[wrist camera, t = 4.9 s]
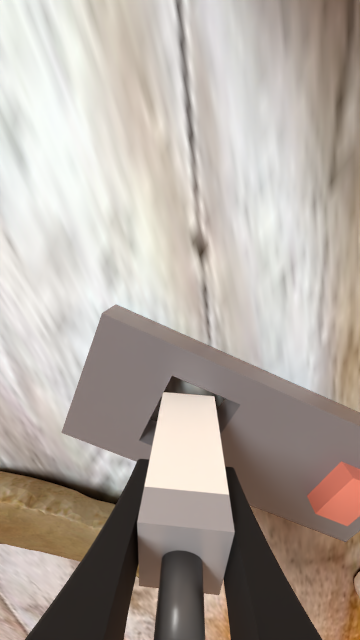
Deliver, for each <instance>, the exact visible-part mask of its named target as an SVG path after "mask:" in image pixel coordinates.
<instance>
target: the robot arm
mask: <svg viewBox="0 0 360 640" xmlns="http://www.w3.org/2000/svg"><path fill="white" fill-rule="evenodd" d="M149 461H150V459H139V460H138V461H137V463H136V466H135V468H134V470H133V472H132V475H131V477H130V479H129V481H128V483H127V485H126V487H125V489H124V491H123V492H122V494H121V496H120V498H119V500H118V502H117V503H116V505H115V507H114V509H113V511H112V512H111V514H110V516H109V518H108V519H107V521H106V523H105V524H104V526H103V527H102V529H101V531H100V532H99V534H98V536H97V537H96V539H95V541H94V542H93V544H92V545H91V547H90V548H89V550H88V552H87V553H86V555H85V556H84V558H83V559H82V561H81V562H80V564H79V565H78V567H77V568H76V570H75V571H74V573H73V574H72V575H71V577H70V578H69V580H68V581H67V583H66V584H65V586H64V587H63V588H62V590H61V591H60V593H59V594H58V595H57V597H56V598H55V600H54V601H53V602H52V604H51V605H50V607H49V608H48V609H47V611H46V612H45V613H44V615H43V616H42V617H41V619H40V620H39V622H38V623H37V624H36V626H35V627H34V628H33V630H32V631H31V632H30V633H29V635H28V636H27V637H26V639H25V640H123V639H124V633H125V627H126V621H127V615H128V610H129V605H130V600H131V595H132V591H133V586H134V582H135V577H136V573H137V568H138V564H139V561H138V531H137V521H138V516H139V511H140V506H141V501H142V496H143V491H144V486H145V481H146V476H147V471H148V466H149ZM225 471H226V477H227V484H228V491H229V497H230V504H231V511H232V517H233V524H234V531H235V533H234V537H233V541H232V545H231V549H230V553H229V558H228V562H227V566H226V570H225V574H224V586H225V593H226V600H227V608H228V616H229V625H230V636H231V640H322V638H321V637H320V635H319V633H318V632H317V630H316V628H315V627H314V625H313V624H312V622H311V620H310V619H309V617H308V615H307V614H306V612H305V610H304V608H303V607H302V605H301V603H300V602H299V600H298V598H297V596H296V595H295V593H294V591H293V589H292V588H291V586H290V584H289V582H288V580H287V579H286V577H285V575H284V573H283V571H282V570H281V568H280V566H279V564H278V562H277V560H276V558H275V556H274V554H273V553H272V551H271V549H270V547H269V545H268V543H267V541H266V539H265V537H264V535H263V533H262V531H261V529H260V527H259V525H258V523H257V520H256V518H255V516H254V514H253V512H252V510H251V508H250V505H249V503H248V501H247V499H246V496H245V494H244V492H243V489H242V487H241V484H240V482H239V479H238V477H237V474H236V471H235V469H234V468H233V467H225Z"/></svg>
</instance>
